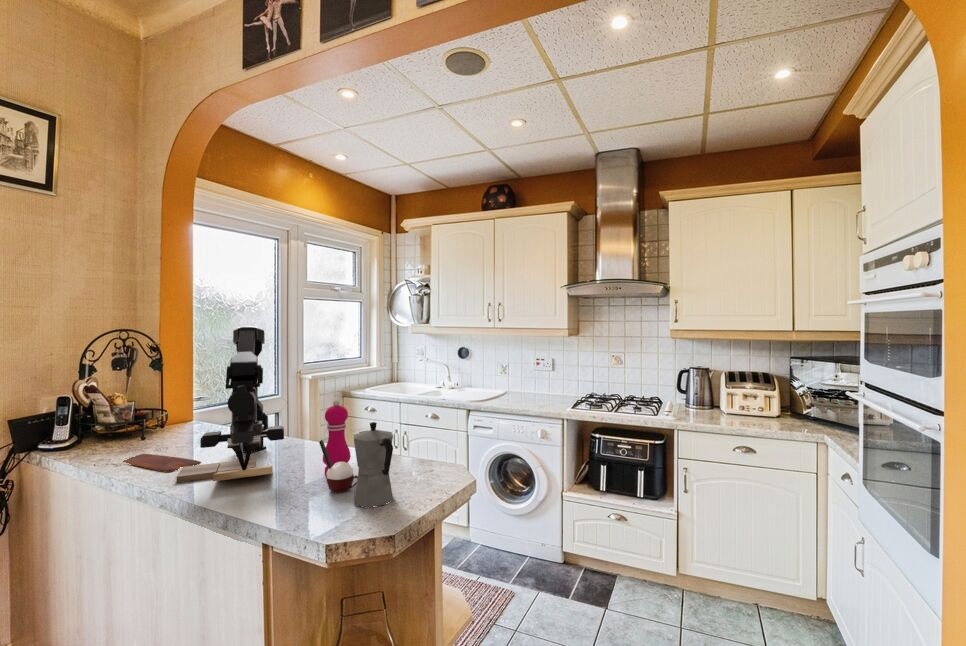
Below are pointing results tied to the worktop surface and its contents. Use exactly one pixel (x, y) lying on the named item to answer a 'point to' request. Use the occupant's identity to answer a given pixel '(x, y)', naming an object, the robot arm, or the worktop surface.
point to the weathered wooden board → (210, 470)
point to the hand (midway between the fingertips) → (244, 469)
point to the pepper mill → (336, 435)
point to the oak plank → (242, 473)
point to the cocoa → (338, 473)
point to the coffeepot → (373, 467)
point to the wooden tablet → (160, 462)
